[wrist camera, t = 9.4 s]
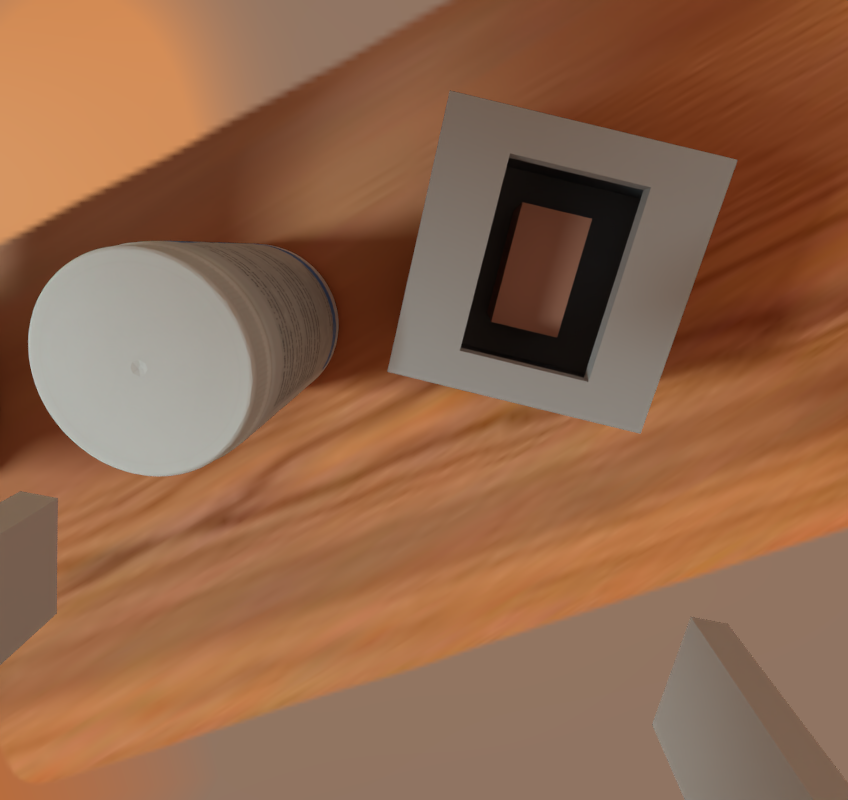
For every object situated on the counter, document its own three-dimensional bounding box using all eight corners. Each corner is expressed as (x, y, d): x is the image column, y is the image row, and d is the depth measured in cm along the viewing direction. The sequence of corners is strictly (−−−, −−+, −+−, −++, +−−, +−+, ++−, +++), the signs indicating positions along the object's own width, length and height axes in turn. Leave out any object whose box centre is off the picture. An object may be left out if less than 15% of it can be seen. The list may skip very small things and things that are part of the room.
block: (543, 326, 33) (557, 337, 29) (487, 312, 33) (491, 321, 29) (572, 224, 32) (592, 218, 27) (513, 210, 32) (522, 202, 27)
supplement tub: (252, 211, 34) (101, 177, 20) (372, 313, 35) (311, 350, 21) (168, 331, 36) (-23, 379, 22) (283, 423, 37) (172, 525, 23)
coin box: (407, 340, 35) (387, 371, 25) (453, 141, 32) (449, 90, 22) (591, 385, 35) (640, 433, 25) (654, 189, 32) (737, 159, 22)
